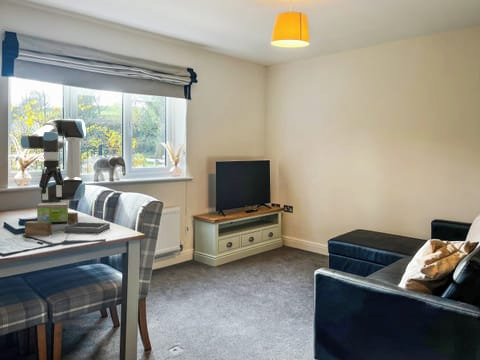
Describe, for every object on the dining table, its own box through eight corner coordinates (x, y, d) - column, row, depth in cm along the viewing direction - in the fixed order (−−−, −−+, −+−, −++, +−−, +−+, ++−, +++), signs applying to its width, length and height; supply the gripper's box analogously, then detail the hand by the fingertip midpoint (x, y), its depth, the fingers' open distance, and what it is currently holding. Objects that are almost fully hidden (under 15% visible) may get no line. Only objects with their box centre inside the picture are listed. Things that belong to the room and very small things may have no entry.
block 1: (29, 234, 205) (28, 221, 205) (51, 234, 205) (51, 221, 204) (25, 236, 201) (24, 222, 201) (47, 236, 201) (47, 223, 200)
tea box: (37, 232, 210) (36, 205, 208) (39, 228, 219) (38, 202, 218) (67, 230, 215) (67, 204, 214) (68, 226, 224) (67, 201, 223)
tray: (77, 227, 223) (77, 222, 223) (109, 228, 222) (109, 223, 221) (64, 232, 209) (64, 227, 209) (98, 233, 208) (98, 228, 207)
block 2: (58, 223, 233) (58, 212, 233) (77, 224, 232) (77, 212, 232) (55, 224, 229) (54, 213, 229) (74, 225, 228) (74, 213, 228)
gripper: (57, 159, 226) (58, 195, 228) (30, 160, 201) (32, 200, 203) (69, 159, 226) (70, 195, 227) (44, 160, 201) (45, 201, 202)
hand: (52, 198), depth 215 cm, fingers open, 13 cm apart
